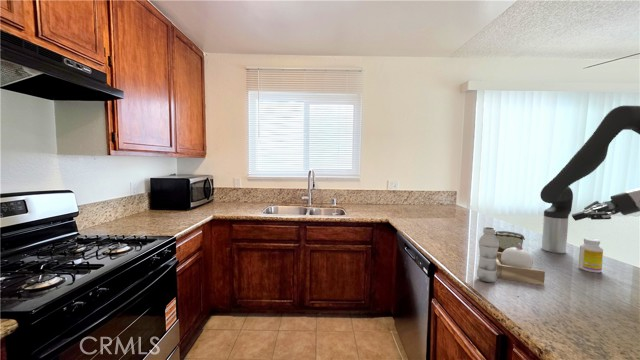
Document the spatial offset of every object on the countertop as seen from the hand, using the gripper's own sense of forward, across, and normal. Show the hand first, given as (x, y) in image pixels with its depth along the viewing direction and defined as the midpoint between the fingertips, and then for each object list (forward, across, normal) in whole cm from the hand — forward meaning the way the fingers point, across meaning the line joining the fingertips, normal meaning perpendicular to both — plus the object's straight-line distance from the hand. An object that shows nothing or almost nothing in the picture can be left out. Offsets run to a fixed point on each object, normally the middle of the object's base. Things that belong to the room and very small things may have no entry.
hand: (573, 217), depth 103 cm
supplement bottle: (+5, -4, +25) cm, 26 cm away
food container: (+30, -10, +13) cm, 34 cm away
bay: (+25, +16, +8) cm, 31 cm away
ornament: (+25, +17, +8) cm, 31 cm away
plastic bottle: (+32, +31, +1) cm, 44 cm away
